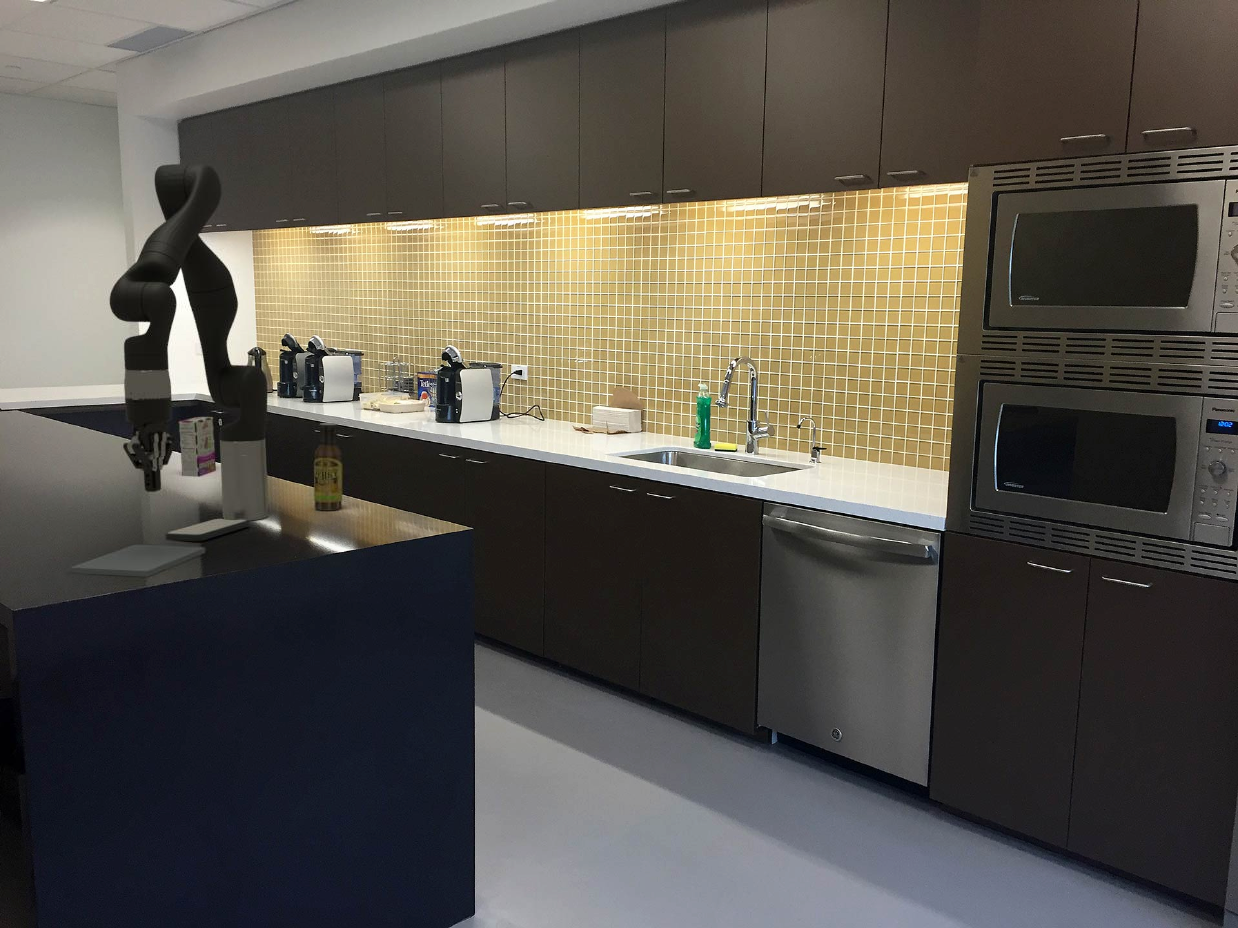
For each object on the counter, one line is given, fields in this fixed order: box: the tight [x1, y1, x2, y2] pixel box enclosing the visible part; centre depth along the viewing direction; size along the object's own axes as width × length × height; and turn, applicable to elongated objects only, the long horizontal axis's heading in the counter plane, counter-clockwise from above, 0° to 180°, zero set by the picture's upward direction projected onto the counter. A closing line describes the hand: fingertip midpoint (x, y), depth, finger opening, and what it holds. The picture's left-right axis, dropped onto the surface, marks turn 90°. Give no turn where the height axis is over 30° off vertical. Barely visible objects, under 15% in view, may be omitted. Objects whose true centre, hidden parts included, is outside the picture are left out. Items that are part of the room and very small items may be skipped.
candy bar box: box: [178, 416, 217, 478], centre depth 268 cm, size 11×5×16 cm, turn 179°
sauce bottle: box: [313, 422, 343, 511], centre depth 226 cm, size 6×6×20 cm
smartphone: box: [165, 518, 250, 542], centre depth 199 cm, size 9×2×16 cm
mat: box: [69, 544, 206, 578], centre depth 175 cm, size 18×14×1 cm
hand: (153, 491), depth 177 cm, fingers closed
